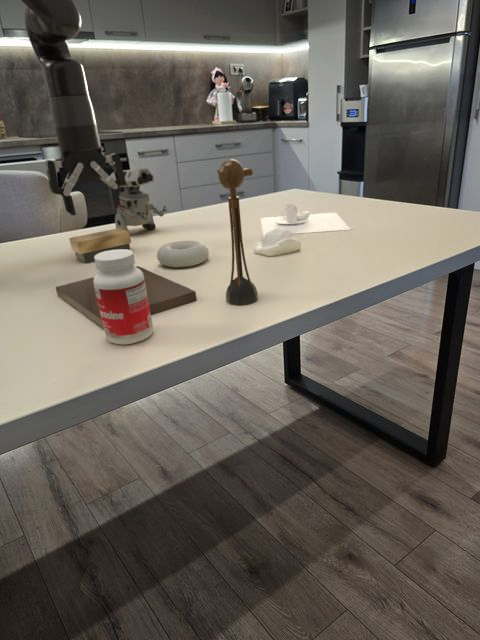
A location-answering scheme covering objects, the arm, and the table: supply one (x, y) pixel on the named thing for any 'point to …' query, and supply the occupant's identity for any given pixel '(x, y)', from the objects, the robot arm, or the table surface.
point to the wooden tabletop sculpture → (237, 235)
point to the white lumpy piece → (276, 243)
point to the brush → (99, 243)
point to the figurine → (135, 201)
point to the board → (157, 287)
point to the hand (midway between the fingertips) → (94, 211)
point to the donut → (182, 254)
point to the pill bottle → (122, 297)
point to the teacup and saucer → (303, 221)
